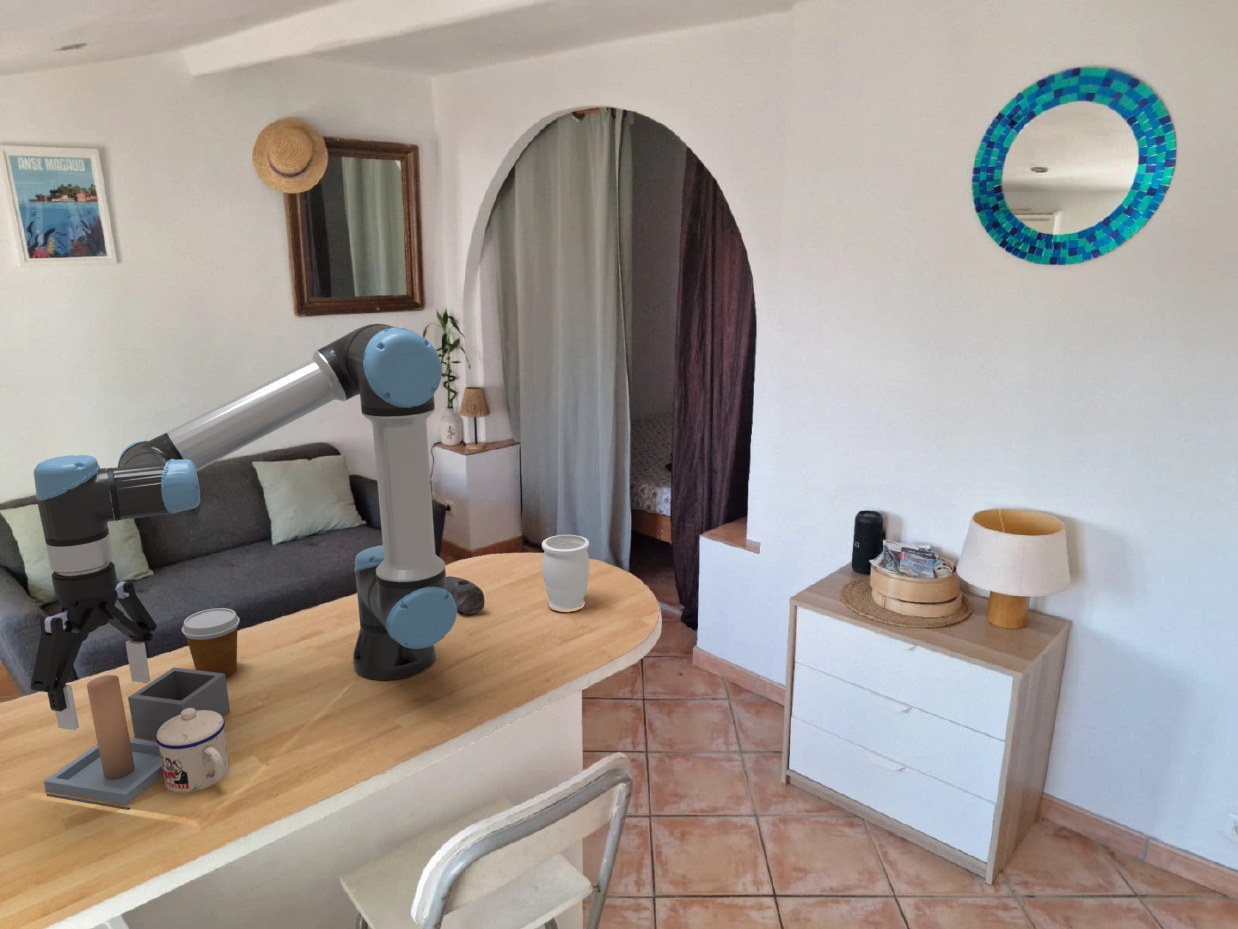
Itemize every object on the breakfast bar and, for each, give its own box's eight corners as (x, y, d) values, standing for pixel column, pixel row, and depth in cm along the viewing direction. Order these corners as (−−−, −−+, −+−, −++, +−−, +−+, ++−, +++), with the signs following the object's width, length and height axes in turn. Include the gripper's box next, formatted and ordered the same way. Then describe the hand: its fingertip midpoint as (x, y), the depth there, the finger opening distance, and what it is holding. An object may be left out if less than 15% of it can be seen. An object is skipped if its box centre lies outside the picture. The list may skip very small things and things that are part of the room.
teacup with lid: (152, 784, 123) (140, 714, 121) (211, 755, 131) (202, 688, 128) (194, 815, 117) (183, 742, 114) (254, 782, 124) (245, 713, 121)
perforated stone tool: (432, 600, 188) (430, 571, 186) (452, 594, 191) (451, 565, 190) (466, 622, 177) (464, 591, 175) (487, 615, 180) (486, 585, 179)
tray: (188, 760, 129) (186, 746, 128) (128, 810, 118) (125, 795, 117) (112, 749, 132) (110, 735, 131) (46, 796, 121) (43, 781, 120)
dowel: (140, 765, 126) (125, 676, 122) (120, 781, 122) (103, 690, 118) (118, 761, 127) (102, 673, 123) (97, 777, 123) (79, 687, 119)
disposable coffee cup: (224, 693, 149) (216, 631, 146) (177, 687, 150) (168, 627, 147) (257, 667, 158) (249, 609, 155) (212, 662, 159) (204, 605, 156)
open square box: (230, 716, 141) (225, 673, 139) (188, 750, 132) (182, 704, 130) (180, 709, 143) (173, 667, 141) (135, 741, 134) (127, 697, 132)
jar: (588, 616, 180) (588, 550, 176) (540, 615, 180) (539, 550, 176) (591, 596, 190) (590, 534, 186) (545, 595, 190) (544, 533, 186)
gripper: (128, 535, 129) (148, 660, 134) (-23, 599, 106) (9, 747, 111) (170, 539, 127) (188, 666, 133) (26, 604, 104) (55, 755, 109)
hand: (106, 703), depth 122 cm, fingers open, 12 cm apart
